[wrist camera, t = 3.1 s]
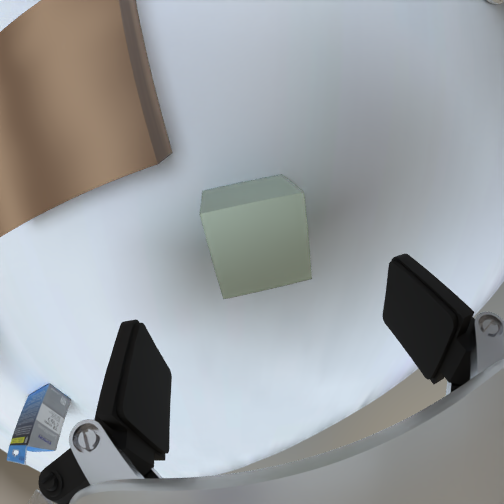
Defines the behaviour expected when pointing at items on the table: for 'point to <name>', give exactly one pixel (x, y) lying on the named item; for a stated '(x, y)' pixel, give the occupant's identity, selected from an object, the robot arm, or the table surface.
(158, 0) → the table surface
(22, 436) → the label tape box
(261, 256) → the sage block
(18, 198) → the walnut block
